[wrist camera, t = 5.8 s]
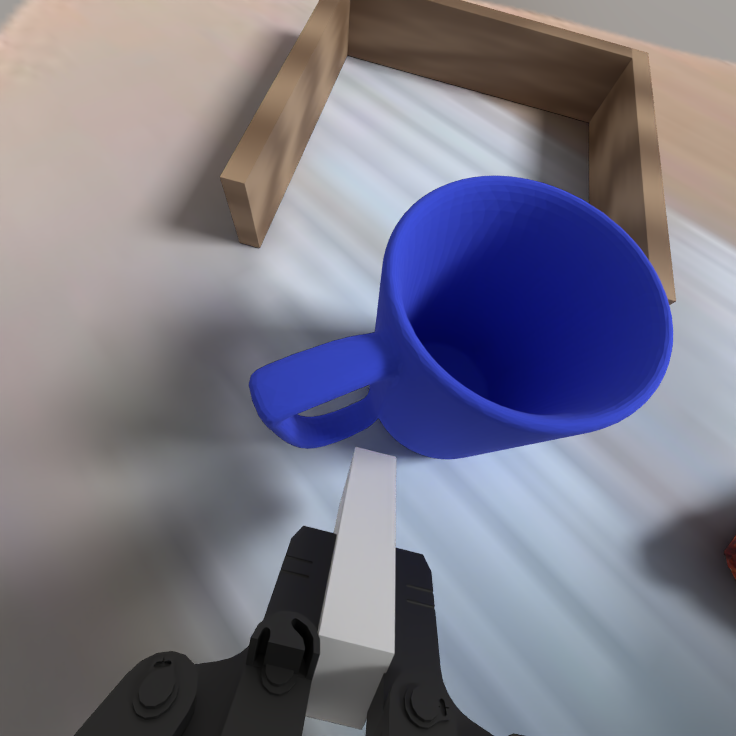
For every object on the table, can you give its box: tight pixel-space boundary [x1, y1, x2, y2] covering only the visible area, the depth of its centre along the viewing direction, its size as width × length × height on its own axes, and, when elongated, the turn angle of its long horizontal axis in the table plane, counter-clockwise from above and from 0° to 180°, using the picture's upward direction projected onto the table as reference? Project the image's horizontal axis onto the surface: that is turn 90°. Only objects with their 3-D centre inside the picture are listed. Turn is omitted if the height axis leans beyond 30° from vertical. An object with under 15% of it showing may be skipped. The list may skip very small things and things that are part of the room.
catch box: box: [220, 0, 676, 305], centre depth 24 cm, size 21×22×4 cm
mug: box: [249, 176, 673, 459], centre depth 14 cm, size 8×12×10 cm
